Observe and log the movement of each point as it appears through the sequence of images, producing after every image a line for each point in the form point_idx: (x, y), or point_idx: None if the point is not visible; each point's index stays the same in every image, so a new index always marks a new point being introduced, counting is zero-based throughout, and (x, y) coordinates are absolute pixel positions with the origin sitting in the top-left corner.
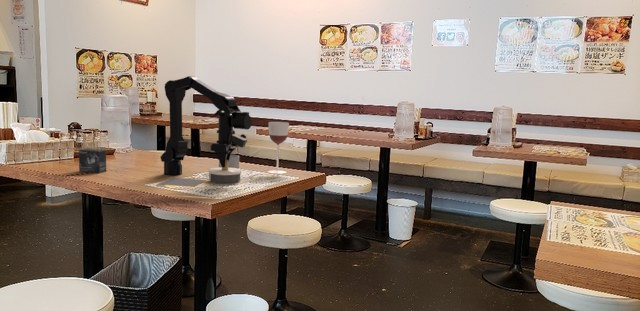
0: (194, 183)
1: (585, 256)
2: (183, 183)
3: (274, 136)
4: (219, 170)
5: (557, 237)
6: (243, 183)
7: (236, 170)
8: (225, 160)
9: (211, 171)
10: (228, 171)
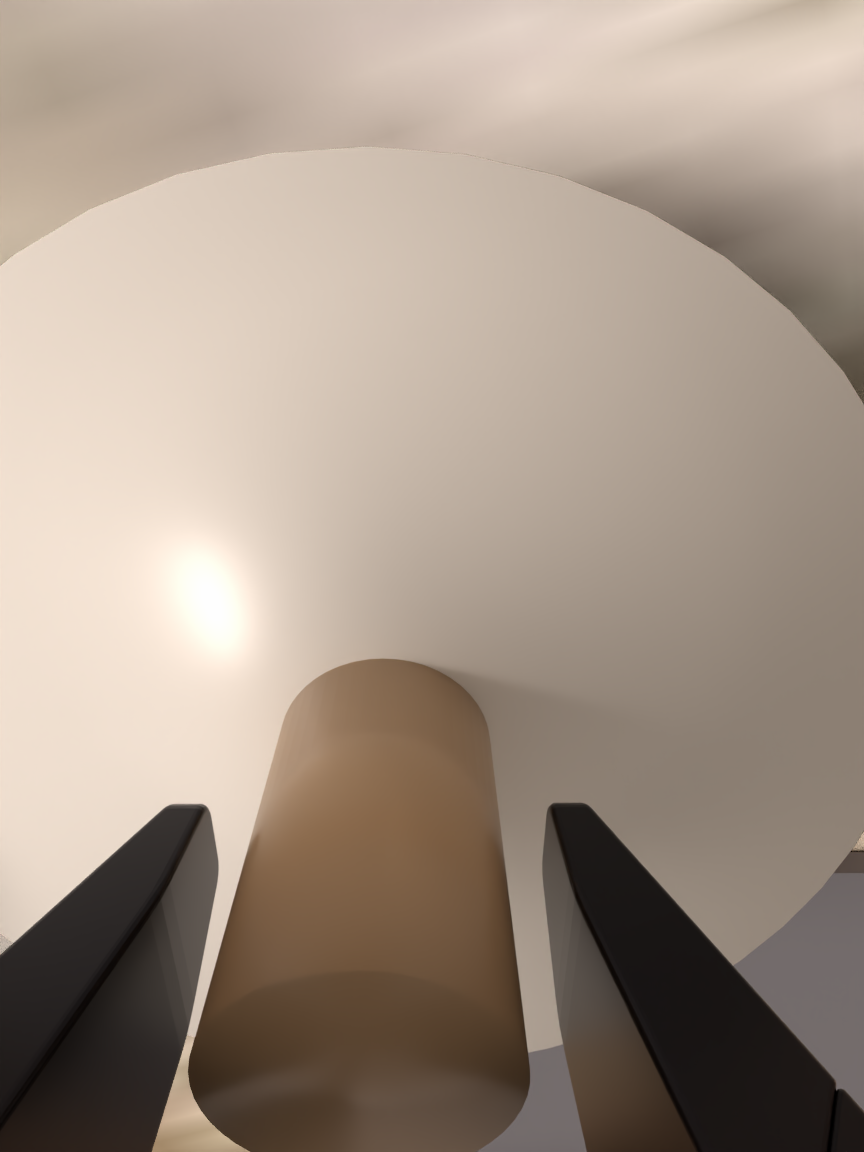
0: (813, 938)
1: None
2: (831, 1042)
3: None
4: (541, 842)
5: None
6: (385, 71)
7: (326, 367)
8: (785, 1034)
9: (747, 950)
10: (653, 573)
